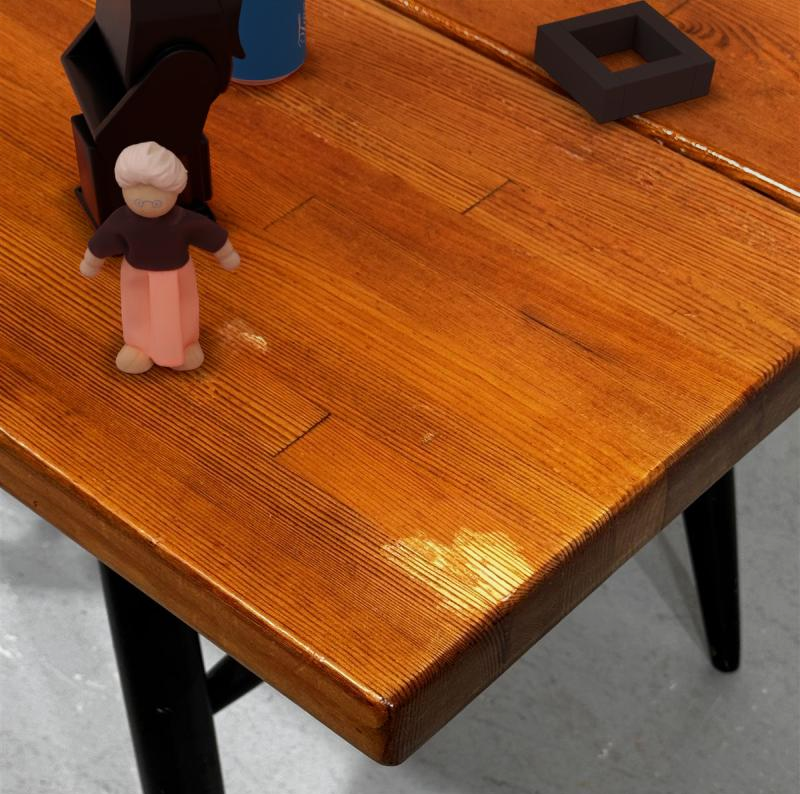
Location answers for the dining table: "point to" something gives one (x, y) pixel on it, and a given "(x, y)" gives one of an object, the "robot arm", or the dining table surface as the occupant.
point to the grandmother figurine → (156, 260)
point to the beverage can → (270, 41)
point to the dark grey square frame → (630, 88)
